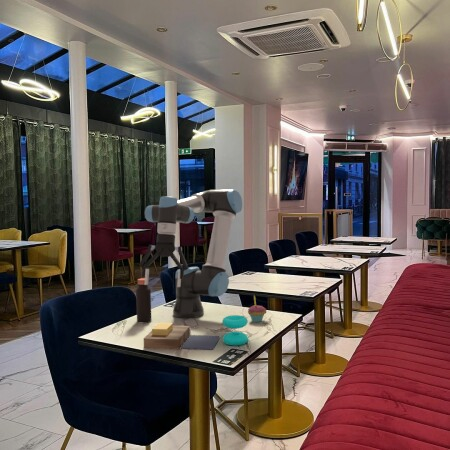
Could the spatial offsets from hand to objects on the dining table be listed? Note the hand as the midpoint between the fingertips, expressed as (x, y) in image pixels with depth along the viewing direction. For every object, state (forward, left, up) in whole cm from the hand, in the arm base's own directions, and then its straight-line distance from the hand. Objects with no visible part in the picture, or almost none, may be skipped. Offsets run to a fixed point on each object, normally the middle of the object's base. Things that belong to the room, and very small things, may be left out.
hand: (162, 285), depth 188 cm
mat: (+3, +16, -22) cm, 28 cm away
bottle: (-26, -17, -22) cm, 38 cm away
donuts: (+2, +30, -22) cm, 37 cm away
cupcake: (-31, +36, -22) cm, 52 cm away
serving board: (+3, +3, -22) cm, 22 cm away
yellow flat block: (+3, +1, -18) cm, 18 cm away
